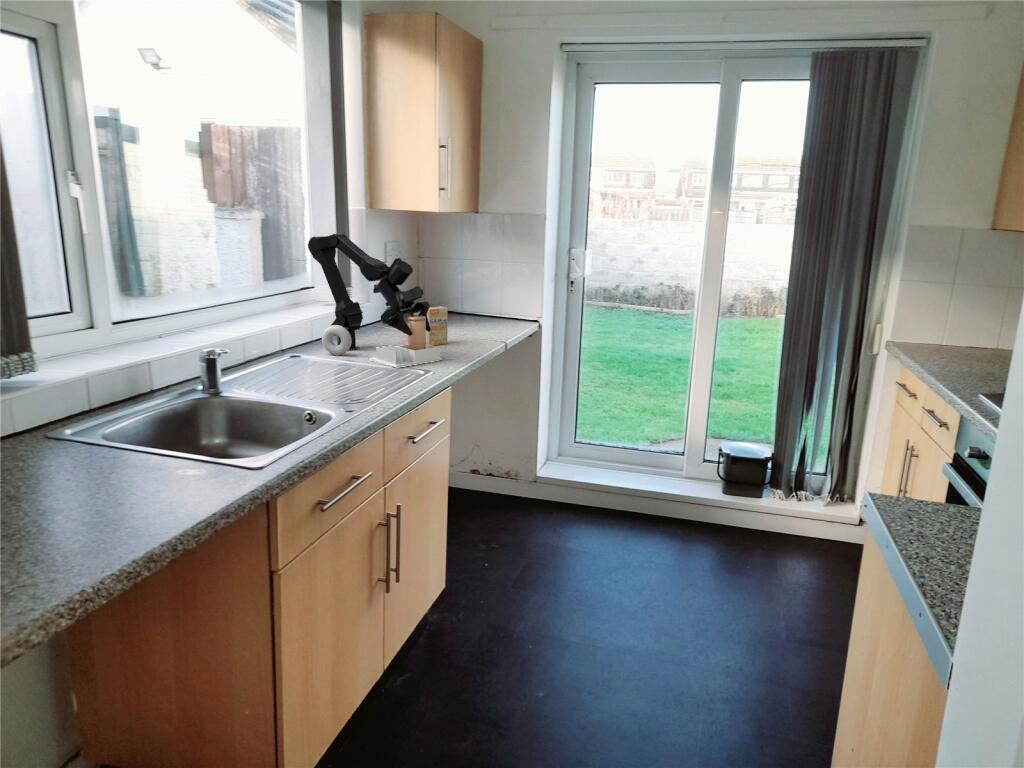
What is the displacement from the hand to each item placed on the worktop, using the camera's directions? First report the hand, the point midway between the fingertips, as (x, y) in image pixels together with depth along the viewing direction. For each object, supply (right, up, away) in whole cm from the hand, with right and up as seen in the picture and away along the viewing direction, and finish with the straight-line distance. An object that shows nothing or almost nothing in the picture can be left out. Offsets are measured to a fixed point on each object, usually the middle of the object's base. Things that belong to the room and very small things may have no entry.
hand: (420, 333), depth 225 cm
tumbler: (-1, -8, +3) cm, 8 cm away
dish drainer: (-5, -9, +2) cm, 10 cm away
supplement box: (+1, -2, +29) cm, 29 cm away
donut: (-28, -7, +8) cm, 30 cm away
